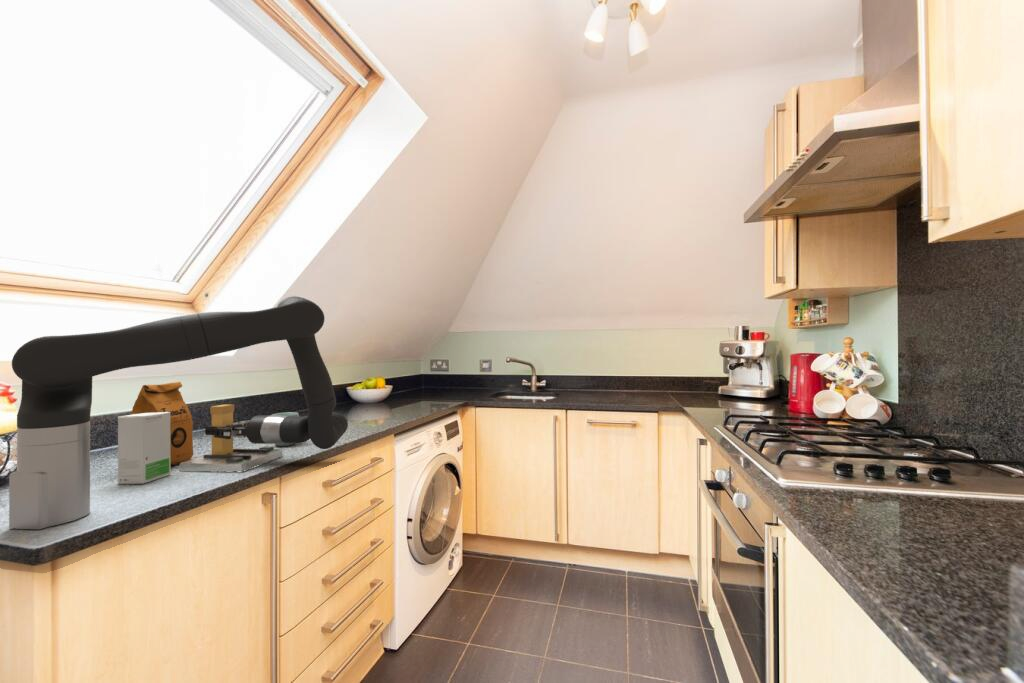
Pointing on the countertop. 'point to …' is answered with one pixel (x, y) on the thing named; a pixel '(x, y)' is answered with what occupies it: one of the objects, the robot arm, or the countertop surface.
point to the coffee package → (180, 416)
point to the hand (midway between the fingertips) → (213, 428)
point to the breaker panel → (232, 460)
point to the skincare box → (143, 447)
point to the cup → (286, 415)
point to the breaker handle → (222, 417)
